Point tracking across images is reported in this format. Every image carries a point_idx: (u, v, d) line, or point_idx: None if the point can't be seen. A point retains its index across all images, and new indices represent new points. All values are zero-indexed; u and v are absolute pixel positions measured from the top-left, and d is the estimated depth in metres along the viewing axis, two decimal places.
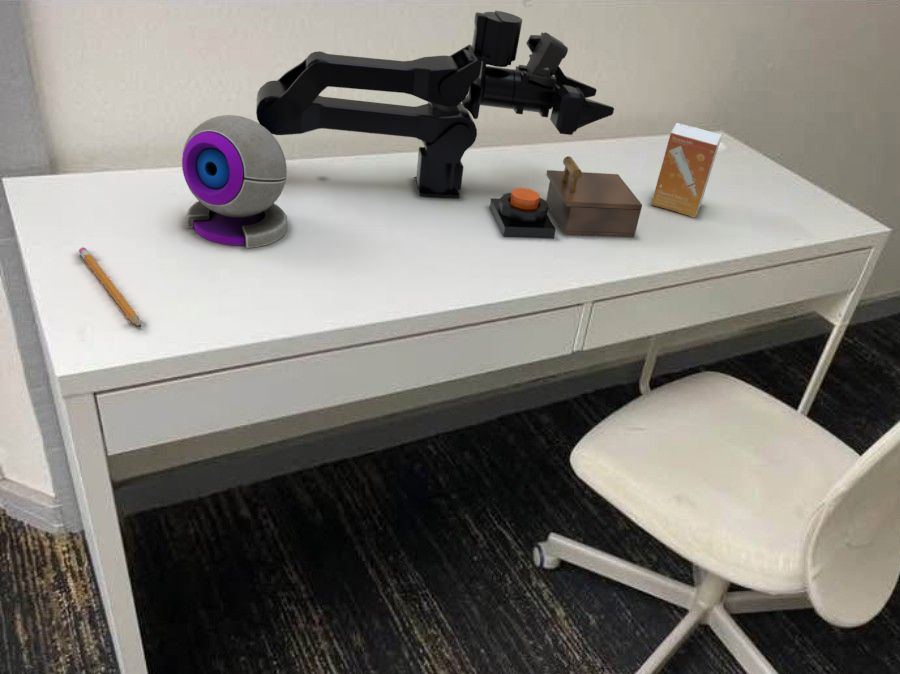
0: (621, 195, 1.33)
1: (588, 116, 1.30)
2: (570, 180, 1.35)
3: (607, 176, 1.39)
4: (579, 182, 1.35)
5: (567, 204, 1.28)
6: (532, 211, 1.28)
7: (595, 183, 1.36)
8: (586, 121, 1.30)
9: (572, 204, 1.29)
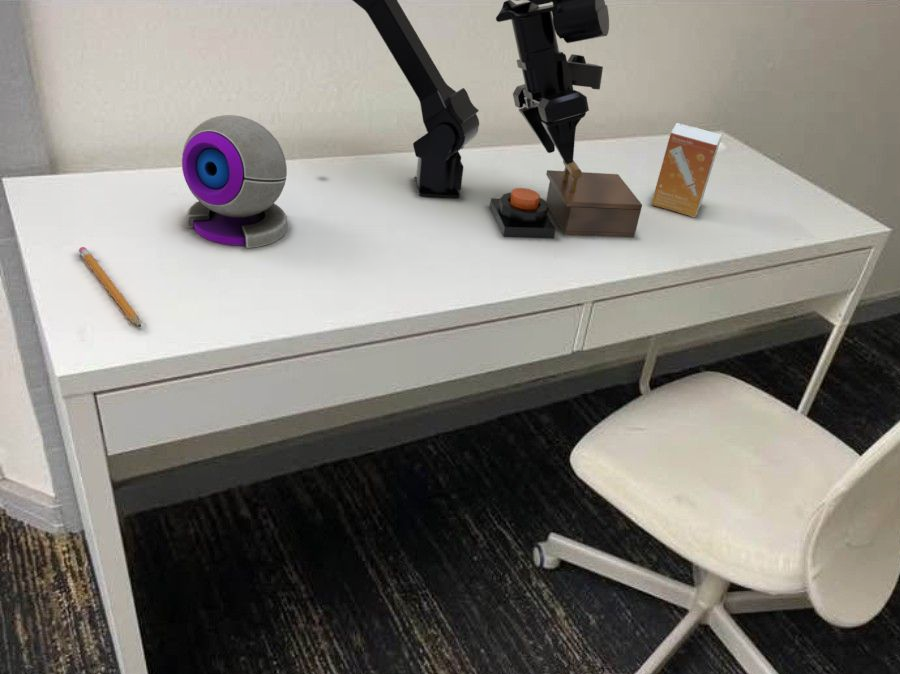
0: (621, 195, 1.33)
1: (560, 136, 1.21)
2: (570, 180, 1.35)
3: (607, 176, 1.39)
4: (579, 182, 1.35)
5: (567, 204, 1.28)
6: (532, 211, 1.28)
7: (595, 183, 1.36)
8: (555, 136, 1.20)
9: (572, 204, 1.29)
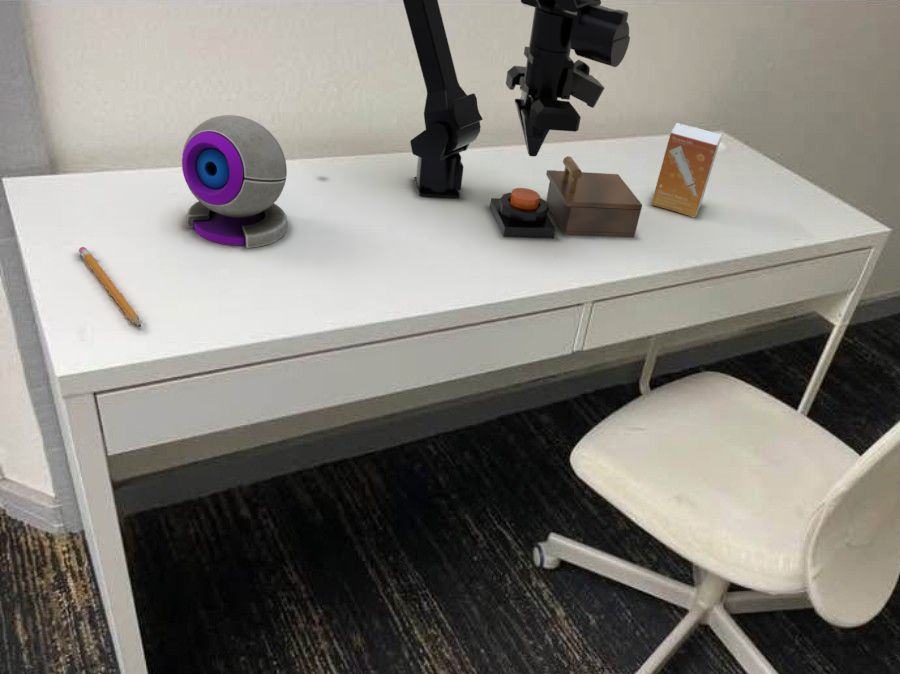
0: (621, 195, 1.33)
1: (533, 130, 1.22)
2: (570, 180, 1.35)
3: (607, 176, 1.39)
4: (579, 182, 1.35)
5: (567, 204, 1.28)
6: (532, 211, 1.28)
7: (595, 183, 1.36)
8: (529, 129, 1.22)
9: (572, 204, 1.29)
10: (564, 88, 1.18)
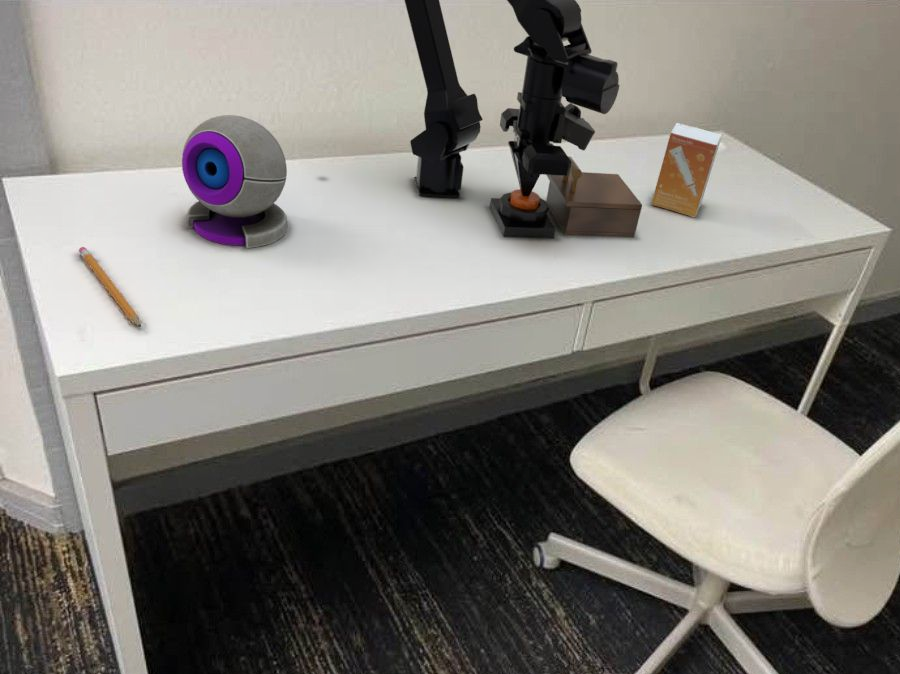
0: (621, 195, 1.33)
1: (526, 172, 1.26)
2: (570, 180, 1.35)
3: (607, 176, 1.39)
4: (579, 182, 1.35)
5: (567, 204, 1.28)
6: (532, 211, 1.28)
7: (595, 183, 1.36)
8: (522, 171, 1.25)
9: (572, 204, 1.29)
10: (556, 133, 1.22)
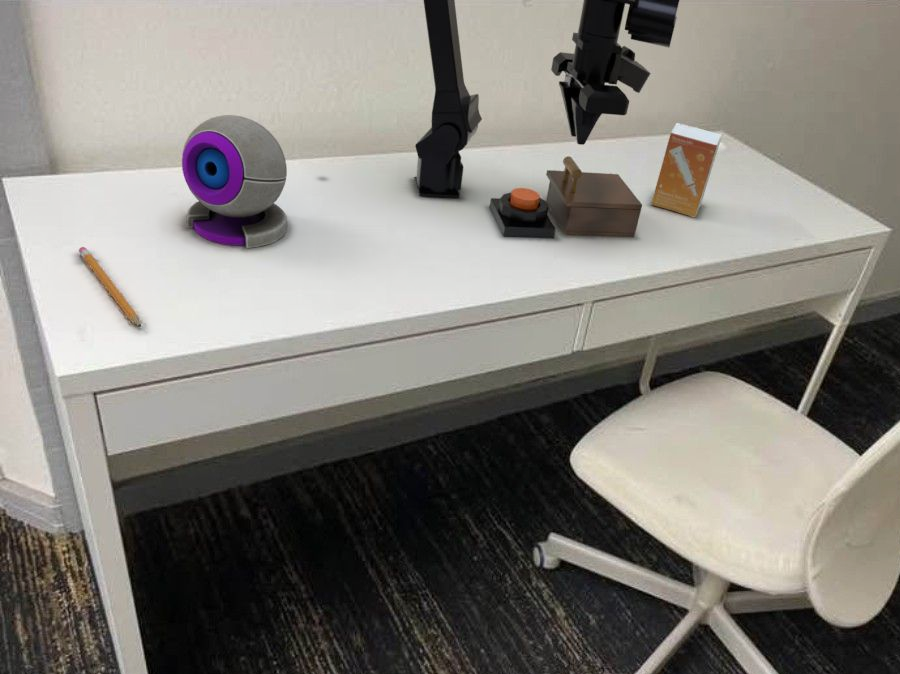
0: (621, 195, 1.33)
1: (583, 118, 1.24)
2: (570, 180, 1.35)
3: (607, 176, 1.39)
4: (579, 182, 1.35)
5: (567, 204, 1.28)
6: (532, 211, 1.28)
7: (595, 183, 1.36)
8: (579, 117, 1.23)
9: (572, 204, 1.29)
10: (612, 73, 1.21)
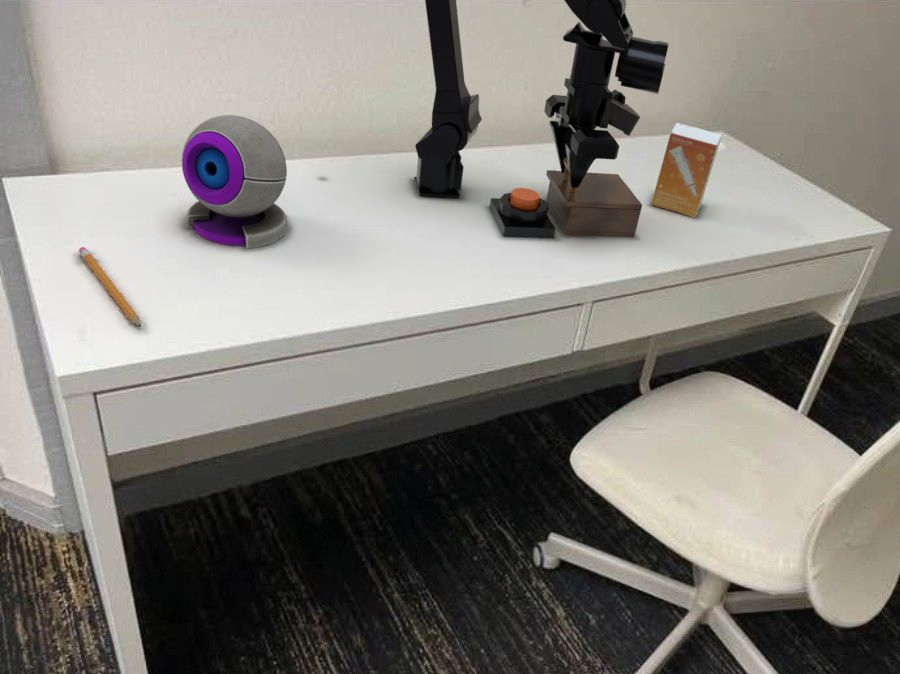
0: (621, 195, 1.33)
1: (576, 163, 1.27)
2: None
3: (607, 176, 1.39)
4: None
5: (567, 204, 1.28)
6: (532, 211, 1.28)
7: (595, 183, 1.36)
8: (573, 162, 1.26)
9: (572, 204, 1.29)
10: (603, 118, 1.24)
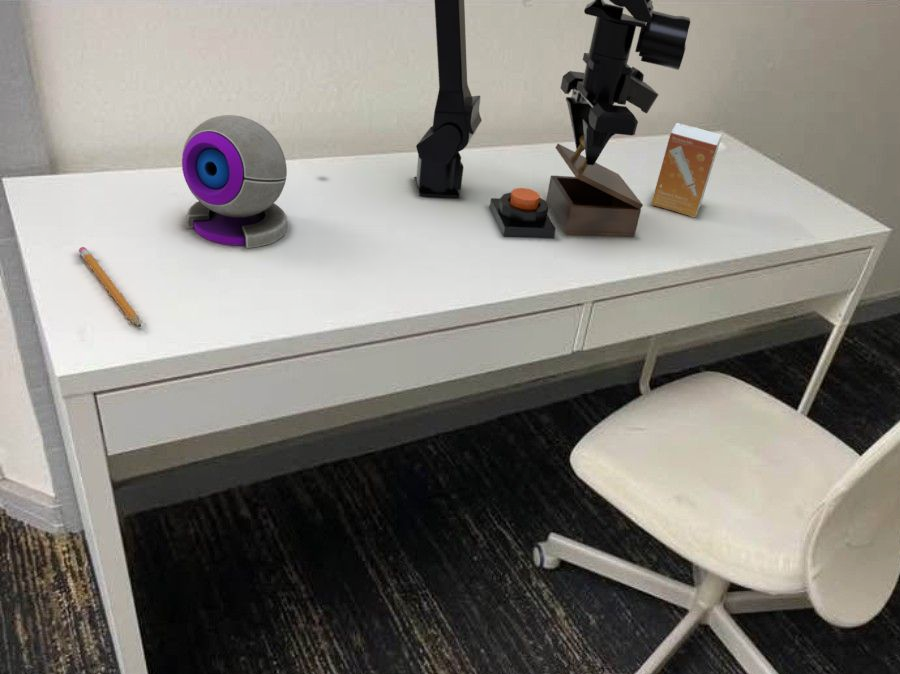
0: (624, 190, 1.33)
1: (593, 139, 1.25)
2: (579, 160, 1.33)
3: (610, 171, 1.38)
4: (586, 164, 1.33)
5: (578, 176, 1.26)
6: (532, 211, 1.28)
7: (601, 171, 1.35)
8: (590, 138, 1.24)
9: (582, 178, 1.26)
10: (621, 94, 1.23)
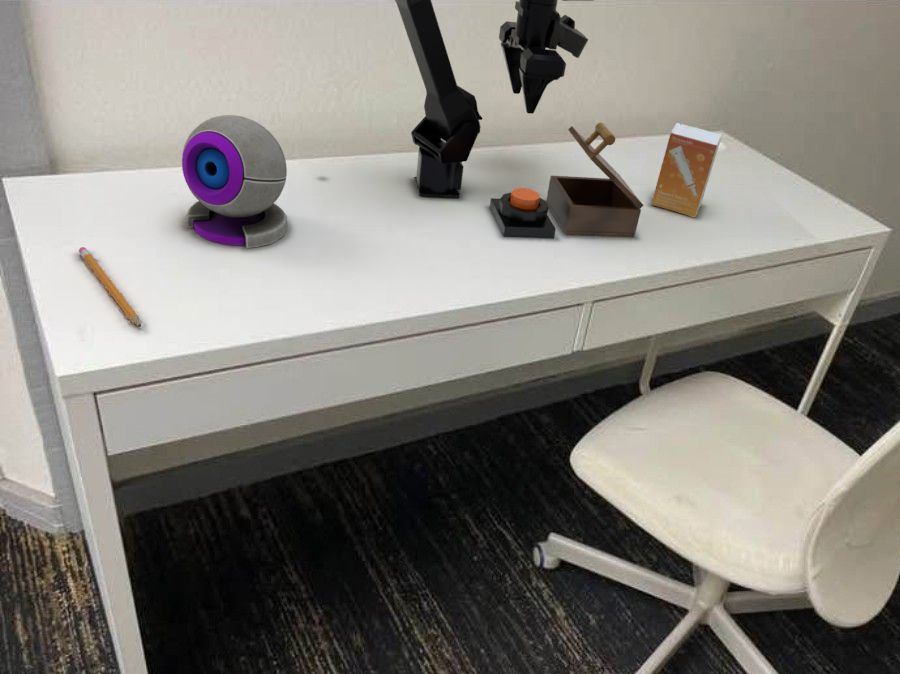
0: (627, 187, 1.33)
1: (530, 88, 1.31)
2: (590, 146, 1.32)
3: None
4: None
5: (592, 158, 1.25)
6: (532, 211, 1.28)
7: (607, 164, 1.34)
8: (527, 86, 1.31)
9: (596, 160, 1.25)
10: (551, 39, 1.30)
